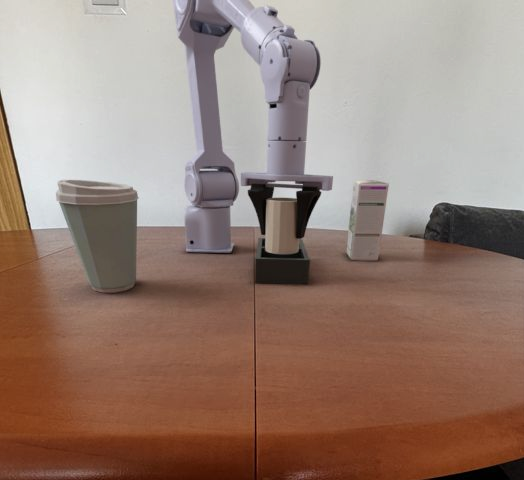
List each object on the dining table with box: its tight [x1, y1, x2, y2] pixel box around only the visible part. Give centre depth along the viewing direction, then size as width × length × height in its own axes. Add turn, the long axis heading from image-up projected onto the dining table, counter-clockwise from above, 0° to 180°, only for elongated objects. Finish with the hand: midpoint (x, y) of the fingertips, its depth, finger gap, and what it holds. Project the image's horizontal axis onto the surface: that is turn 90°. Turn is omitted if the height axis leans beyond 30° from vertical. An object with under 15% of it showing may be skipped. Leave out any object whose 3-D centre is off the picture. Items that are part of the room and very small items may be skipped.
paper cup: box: [264, 196, 300, 254], centre depth 61 cm, size 6×6×8 cm
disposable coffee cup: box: [55, 179, 139, 294], centre depth 55 cm, size 11×11×15 cm
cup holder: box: [254, 237, 311, 285], centre depth 68 cm, size 9×16×4 cm, turn 179°
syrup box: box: [345, 179, 390, 262], centre depth 75 cm, size 6×6×14 cm
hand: (282, 235), depth 62 cm, fingers closed on paper cup, 5 cm apart
